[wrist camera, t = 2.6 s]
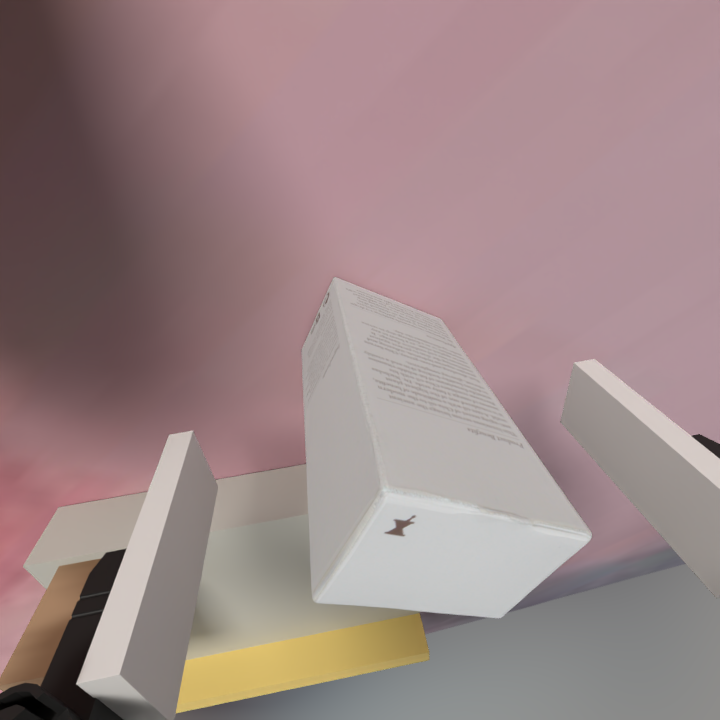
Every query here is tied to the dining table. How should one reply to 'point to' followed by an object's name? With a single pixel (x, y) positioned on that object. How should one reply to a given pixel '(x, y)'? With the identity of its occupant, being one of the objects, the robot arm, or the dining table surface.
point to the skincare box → (419, 470)
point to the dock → (248, 593)
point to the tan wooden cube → (46, 626)
